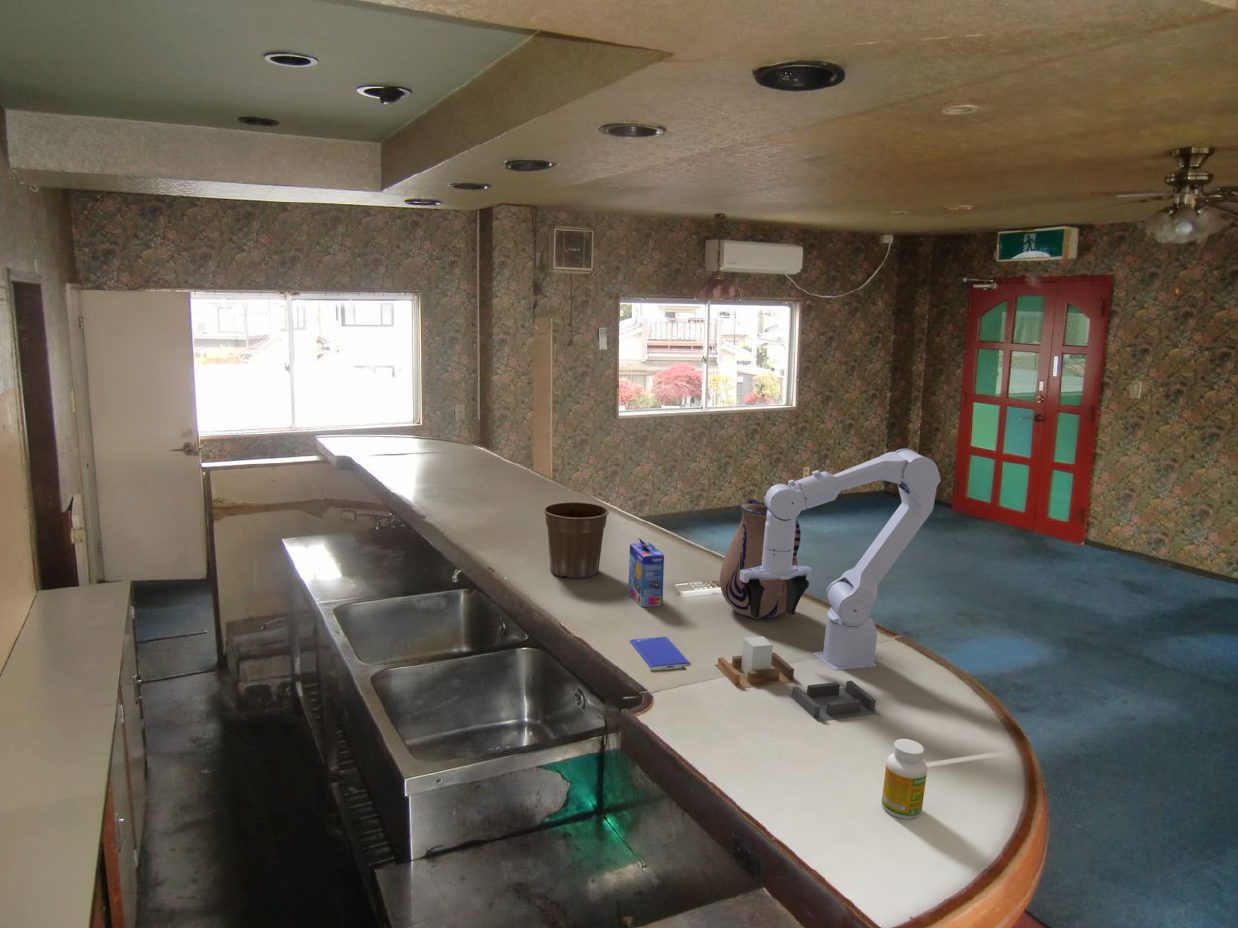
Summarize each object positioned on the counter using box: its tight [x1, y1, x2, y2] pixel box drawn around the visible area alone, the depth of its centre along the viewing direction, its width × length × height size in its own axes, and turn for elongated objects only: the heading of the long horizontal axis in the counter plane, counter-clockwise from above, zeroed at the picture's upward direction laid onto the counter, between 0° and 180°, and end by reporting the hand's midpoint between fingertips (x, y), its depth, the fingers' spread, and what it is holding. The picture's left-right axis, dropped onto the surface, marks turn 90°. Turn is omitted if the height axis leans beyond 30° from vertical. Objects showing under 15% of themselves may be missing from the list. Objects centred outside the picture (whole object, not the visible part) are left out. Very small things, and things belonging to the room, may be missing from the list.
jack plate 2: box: [788, 680, 879, 723], centre depth 148 cm, size 12×10×2 cm
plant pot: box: [543, 501, 610, 579], centre depth 211 cm, size 16×16×16 cm
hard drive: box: [628, 636, 691, 672], centre depth 165 cm, size 2×8×12 cm
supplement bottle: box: [881, 738, 928, 820], centre depth 118 cm, size 5×5×10 cm
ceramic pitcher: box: [719, 498, 802, 620], centre depth 187 cm, size 18×21×25 cm
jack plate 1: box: [714, 652, 797, 690], centre depth 158 cm, size 12×10×2 cm
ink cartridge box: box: [627, 537, 665, 608], centre depth 194 cm, size 10×6×14 cm, turn 18°
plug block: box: [741, 636, 774, 677], centre depth 158 cm, size 4×4×6 cm
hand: (772, 614), depth 164 cm, fingers open, 7 cm apart
